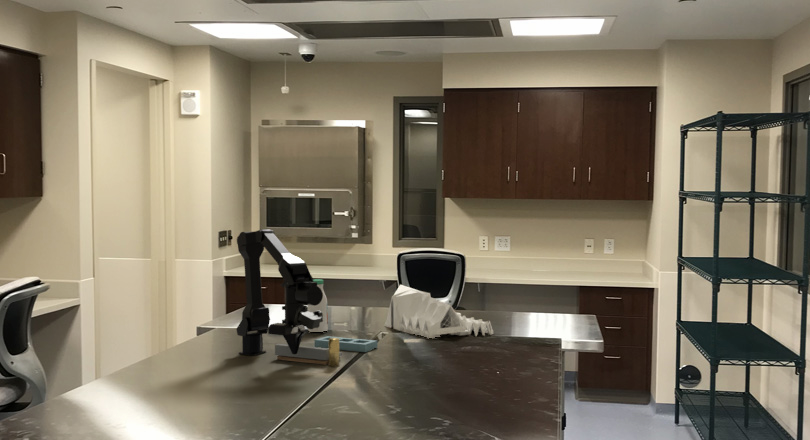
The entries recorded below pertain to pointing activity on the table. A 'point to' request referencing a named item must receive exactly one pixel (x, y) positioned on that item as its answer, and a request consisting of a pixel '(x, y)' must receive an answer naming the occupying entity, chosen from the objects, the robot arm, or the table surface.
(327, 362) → the plate
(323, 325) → the milk bottle
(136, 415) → the table surface
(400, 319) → the white faceted model
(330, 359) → the brass pin
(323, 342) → the socket board
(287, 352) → the sliding cover
